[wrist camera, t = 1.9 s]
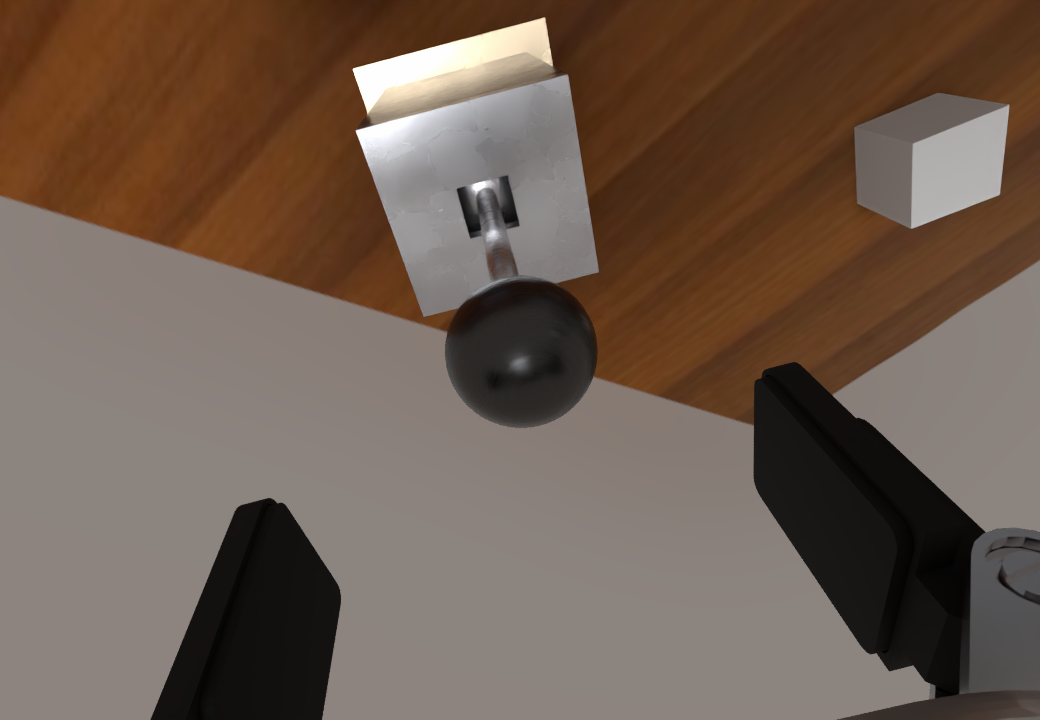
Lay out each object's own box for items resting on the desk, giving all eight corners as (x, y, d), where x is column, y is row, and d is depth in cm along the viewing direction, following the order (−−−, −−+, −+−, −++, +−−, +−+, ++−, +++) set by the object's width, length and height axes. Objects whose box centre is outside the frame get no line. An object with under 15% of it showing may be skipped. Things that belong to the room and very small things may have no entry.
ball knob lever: (536, 108, 25) (652, 234, 11) (561, 239, 29) (673, 460, 15) (400, 144, 25) (346, 312, 11) (441, 270, 29) (439, 518, 15)
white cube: (933, 172, 43) (999, 195, 38) (856, 203, 43) (911, 229, 38) (937, 91, 39) (1010, 104, 34) (853, 126, 40) (912, 143, 35)
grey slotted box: (543, 17, 34) (598, 23, 22) (578, 224, 41) (634, 314, 29) (354, 67, 34) (305, 101, 22) (422, 264, 42) (413, 370, 29)
